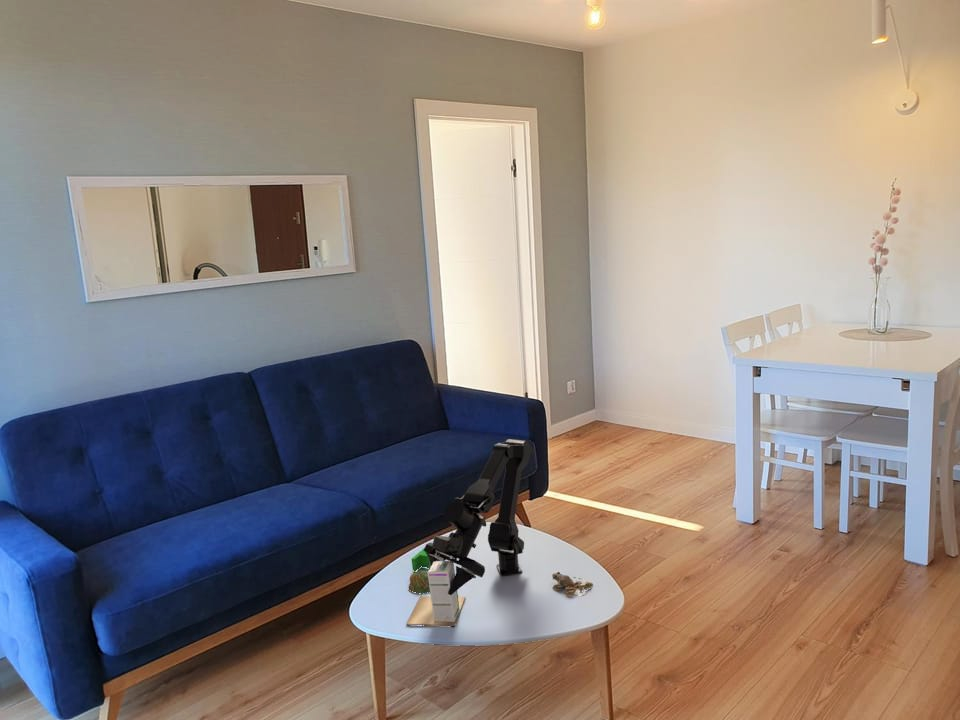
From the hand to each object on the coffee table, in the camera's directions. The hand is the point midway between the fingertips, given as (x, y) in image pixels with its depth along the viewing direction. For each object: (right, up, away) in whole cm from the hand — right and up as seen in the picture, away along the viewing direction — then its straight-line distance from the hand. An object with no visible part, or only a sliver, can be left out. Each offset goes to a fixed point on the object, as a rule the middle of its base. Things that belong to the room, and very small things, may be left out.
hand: (439, 589), depth 193 cm
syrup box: (+2, -8, +3) cm, 9 cm away
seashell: (-5, -6, +21) cm, 23 cm away
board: (-1, -8, +6) cm, 10 cm away
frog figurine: (+35, -4, +13) cm, 38 cm away
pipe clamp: (-6, -3, +34) cm, 34 cm away
